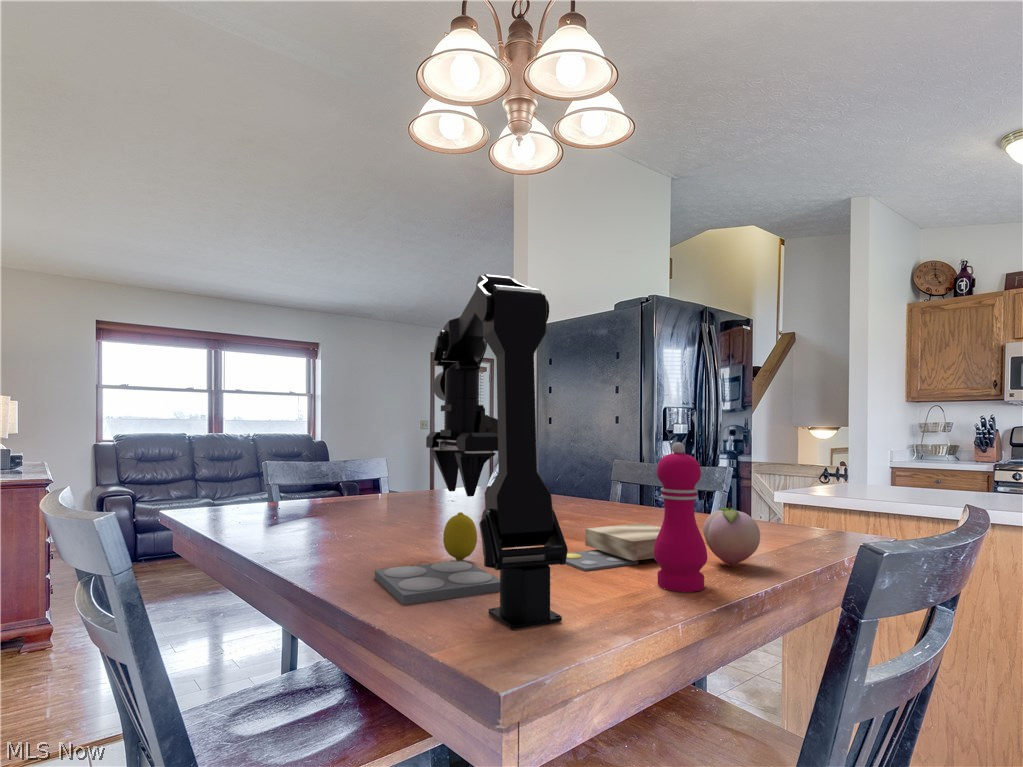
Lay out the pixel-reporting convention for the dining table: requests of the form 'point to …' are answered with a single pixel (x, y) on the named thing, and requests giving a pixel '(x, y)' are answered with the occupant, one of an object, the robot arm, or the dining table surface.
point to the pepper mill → (679, 524)
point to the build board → (436, 581)
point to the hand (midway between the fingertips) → (460, 493)
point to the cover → (624, 540)
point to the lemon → (460, 536)
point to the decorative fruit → (731, 535)
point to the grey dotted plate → (596, 560)
